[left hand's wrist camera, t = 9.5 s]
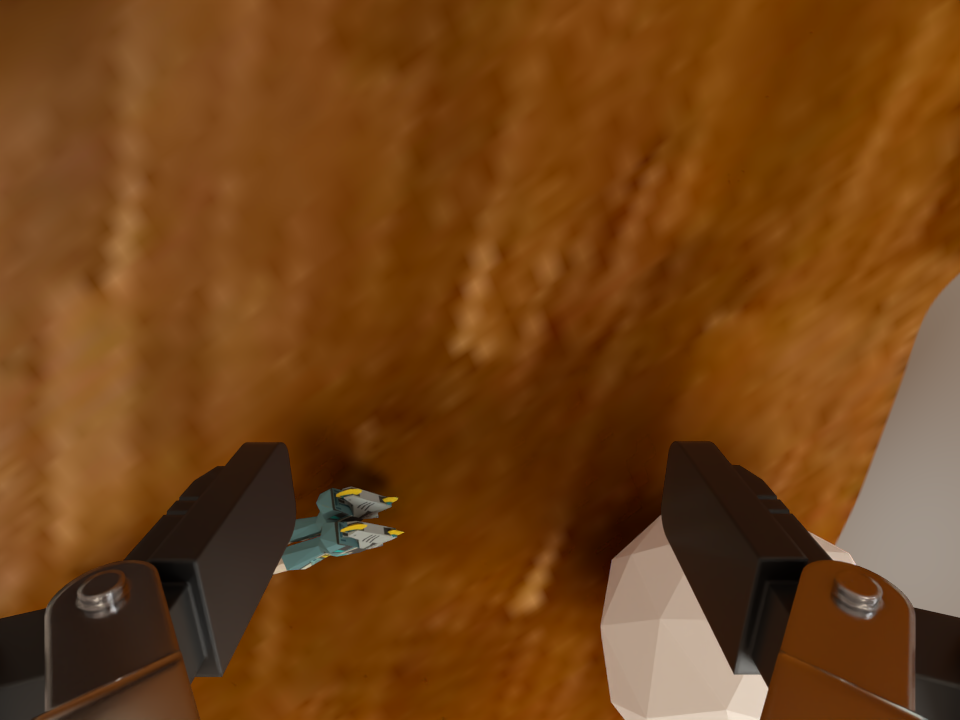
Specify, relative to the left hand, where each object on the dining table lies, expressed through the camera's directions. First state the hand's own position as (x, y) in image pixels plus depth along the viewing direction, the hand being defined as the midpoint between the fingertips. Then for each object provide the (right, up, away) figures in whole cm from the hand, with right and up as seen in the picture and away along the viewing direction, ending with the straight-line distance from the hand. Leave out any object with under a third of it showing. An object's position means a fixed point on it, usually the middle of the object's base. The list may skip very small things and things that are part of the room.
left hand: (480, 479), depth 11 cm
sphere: (+18, -14, +36) cm, 43 cm away
